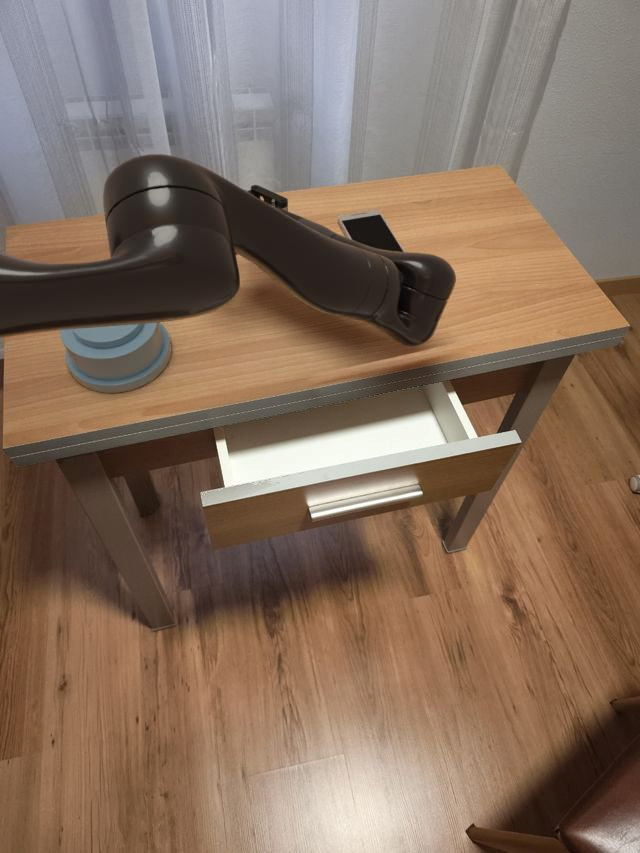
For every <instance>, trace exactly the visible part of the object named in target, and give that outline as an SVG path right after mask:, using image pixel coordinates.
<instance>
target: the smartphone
mask: <svg viewBox="0 0 640 853" xmlns="http://www.w3.org/2000/svg"><path fill="white" fill-rule="evenodd" d="M337 223H338V225H339V227H340V228H341V230H342V232H343V235H344V237H346V238H349V239H351V240H354V241H356V242H359V243H361V244H364V245H367V246H370V247H374V248H377V249H382V250H388V251H396V252H406V251H405V249H404V248H403V246H402V245H401V243H400V241H399V240H398V238H397V237H396V235H395V233H394V232H393V230H392V229H391V227H390V225H389V224H388V223H387V220H386V219H385V218H384V216H383V214H382V212H381V211H380V209H377V208H376V209H370V210H364V211H358V212H353V213H352V212H351V213H346V214H339V215H338V216H337Z"/></svg>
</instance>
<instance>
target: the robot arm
mask: <svg viewBox="0 0 640 853" xmlns="http://www.w3.org/2000/svg"><path fill="white" fill-rule="evenodd" d="M102 193H103V194H102V204H103V213H104V221H105V228H106V236H107V243H108V249H109V255H110V258H106V259H102V260H101V259H100V260H95V261H87V262H76V263H75V262H73V263H72V262H71V263H68V262H67V263H45V262H36V261H30V260H26V259H23V258H19V257H15V256H13V255H9V254H6V253H3V252H0V339H2V338H9V337H16V336H22V335H30V334H38V333H48V332H55V331H60V330H68V329H80V328H94V327H107V326H120V325H134V324H147V323H157V322H160V323H167V322H175V321H182V320H187V319H193V318H197V317H202V316H205V315H208V314H211V313H213V312H216V311H218V310H220V309H223V308H224V307H225V306H227V305H228V304H230V303H231V302H233V300H234V299H235V298H236V296H237V295H238V293H239V291H240V286H241V276H240V270H239V264H238V259H237V255H239V256H241V257H242V258H244V259H245V260H247V261H248V262H250V263H252V264H253V265H255V266H256V267H258V268H259V269H260V270H262V272H264V273H265V274H267V275H268V276H270V277H271V278H272V279H273V280H275V281H276V282H277V283H278V284H279V285H280V286H282V287H283V288H284V289H285V290H286V291H287V292H289V293H290V294H291V295H292V296H294V297H295V298H297V299H298V300H299V301H301V302H302V303H304V304H305V305H307V306H308V307H310V308H312V309H314V310H316V311H318V312H321V313H324V314H327V315H330V316H335V317H336V316H337V317H339V318H340V317H341V318H346V319H350V320H355V321H360V322H364V323H366V324H368V325H370V326H372V327H373V328H375V329H377V330H378V331H380V332H381V333H382V334H383V335H385V336H386V337H387V338H388V339H391V340H392V341H394V342H395V343H397V344H400V345H402V346H405V347H417V346H421V345H424V344H425V343H427V342H428V341H430V339H431V338H432V337H433V335H434V334H435V332H436V330H437V327H438V325H439V322H440V320H441V318H442V316H443V313H444V311H445V309H446V307H447V305H448V302H449V300H450V298H451V295H452V293H453V291H454V289H455V286H456V282H457V275H456V272H455V270H454V268H453V266H452V265H451V264H450V262H448V261H447V260H446V259H444V258H443V257H441V256H438V255H435V254H432V253H425V252H409V251H405V252H396V251H388V250H382V249H377V248H374V247H370V246H367V245H364V244H361V243H359V242H356V241H354V240H351V239H349V238H346V236H345V235H341V234H339V233H336V232H335V231H333V230H331V229H330V228H328V227H326V226H324V225H322V224H320V223H318V222H315V221H313V220H310V219H307V218H305V217H303V216H300V215H298V214H296V213H293V212H291V211H289V200H288V198H287V197H285V196H282V195H281V194H278V193H276V192H274V191H271V190H270V189H267V188H265V187H263V186H261V185H258V184H253V185H251V186H250V189H249V190H247V189H244V188H241V187H240V186H238V185H237V184H235V183H233V182H232V181H230V180H228V179H226V178H225V177H223V176H221V175H220V174H218V173H216V172H214V171H213V170H212V169H209V168H207V167H205V166H203V165H201V164H199V163H196V162H195V161H191V160H189V159H186V158H183V157H180V156H176V155H169V154H162V153H155V154H154V153H151V154H144V155H138V156H134V157H132V158H130V159H127V160H124V161H123V162H122V163H121V164H119V165H117V166H116V167H115V168H114V169H113V170H112V171H111V172H110V173H109V174H108V175H107V177H106V180H105V182H104V185H103V192H102ZM261 198H262V199H261Z"/></svg>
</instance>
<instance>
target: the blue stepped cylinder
mask: <svg viewBox="0 0 640 853" xmlns="http://www.w3.org/2000/svg"><path fill="white" fill-rule="evenodd" d="M59 335H60V339H61V342H62V343H63V346H64V348H65V353H64V356H65V363H66V365H67V368H68V370H69V372H70V374H71V376H72V377H73V379H74V380H75V381H76V382H77V383H78V384H79V385H81V386H82V387H84V388H86V389H89V390H91V391H94V392H98V393H104V394H105V393H107V394H116V393H117V394H118V393H125V392H126V393H127V392H129V391H133V390H137V389H139V388H141V387H144V386H146V385H147V384H149V383H151V382H153V381H154V380H155V379H156V378H158V376H159V375H161V373H163V371H164V370H165V369H166V367H167V366H168V364H169V362H170V359H171V356H172V343H171V340H170V336H169V333H168V330H167V329H166V328H165V326H164V325H163V324H162V322H157V323H147V324H134V325H120V326H107V327H94V328H80V329H68V330H59Z"/></svg>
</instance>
